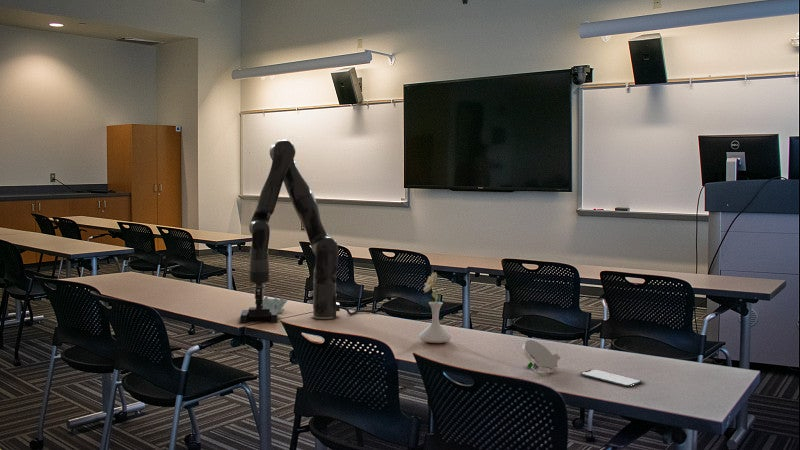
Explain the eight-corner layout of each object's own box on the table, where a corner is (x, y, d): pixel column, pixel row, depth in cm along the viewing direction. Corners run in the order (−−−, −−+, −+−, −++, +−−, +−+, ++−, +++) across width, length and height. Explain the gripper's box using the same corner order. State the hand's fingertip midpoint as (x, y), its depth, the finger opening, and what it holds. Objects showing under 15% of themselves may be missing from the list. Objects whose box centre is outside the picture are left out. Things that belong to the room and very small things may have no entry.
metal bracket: (259, 293, 313) (292, 295, 310) (261, 305, 315) (293, 307, 312) (247, 308, 300) (280, 310, 297) (248, 320, 302) (282, 322, 299)
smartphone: (643, 382, 202) (594, 370, 214) (643, 380, 202) (594, 368, 214) (628, 387, 196) (578, 374, 208) (628, 385, 196) (578, 372, 208)
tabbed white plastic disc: (545, 374, 205) (527, 339, 208) (523, 385, 209) (506, 349, 212) (566, 364, 217) (549, 331, 220) (545, 374, 221) (529, 341, 224)
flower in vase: (421, 337, 257) (422, 268, 255) (452, 339, 255) (454, 269, 253) (415, 345, 244) (417, 272, 242) (449, 347, 242) (450, 274, 240)
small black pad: (269, 314, 285) (269, 307, 285) (269, 316, 280) (269, 309, 280) (249, 314, 284) (249, 307, 284) (248, 317, 279) (248, 309, 279)
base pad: (277, 316, 292) (277, 309, 292) (276, 322, 280) (276, 315, 280) (242, 317, 290) (242, 310, 290) (240, 323, 278) (240, 315, 278)
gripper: (268, 272, 274) (268, 316, 275) (269, 267, 289) (269, 309, 290) (248, 272, 273) (248, 316, 274) (250, 268, 287) (250, 309, 288)
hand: (259, 312), depth 282 cm, fingers closed on small black pad, 5 cm apart
